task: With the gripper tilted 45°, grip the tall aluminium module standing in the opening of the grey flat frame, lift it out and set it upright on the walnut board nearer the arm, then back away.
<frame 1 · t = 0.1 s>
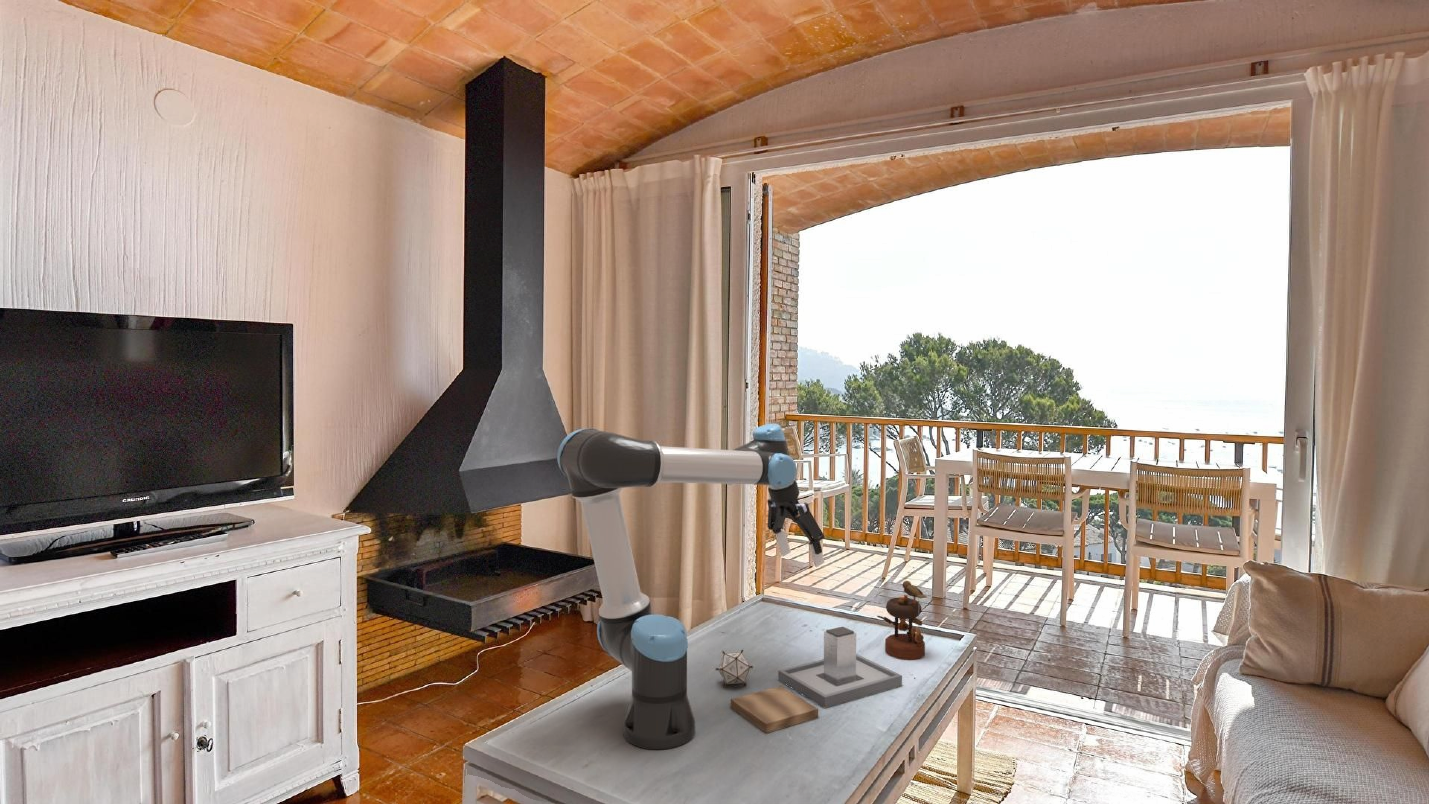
hand: (802, 559, 195), 28 cm above the table, tool tilted 20°, fingers open, 13 cm apart
game die: (734, 684, 184), on the table
grey flat frame: (839, 682, 185), on the table
music box: (902, 652, 206), on the table
board: (773, 712, 169), on the table
module: (839, 683, 185), resting in grey flat frame
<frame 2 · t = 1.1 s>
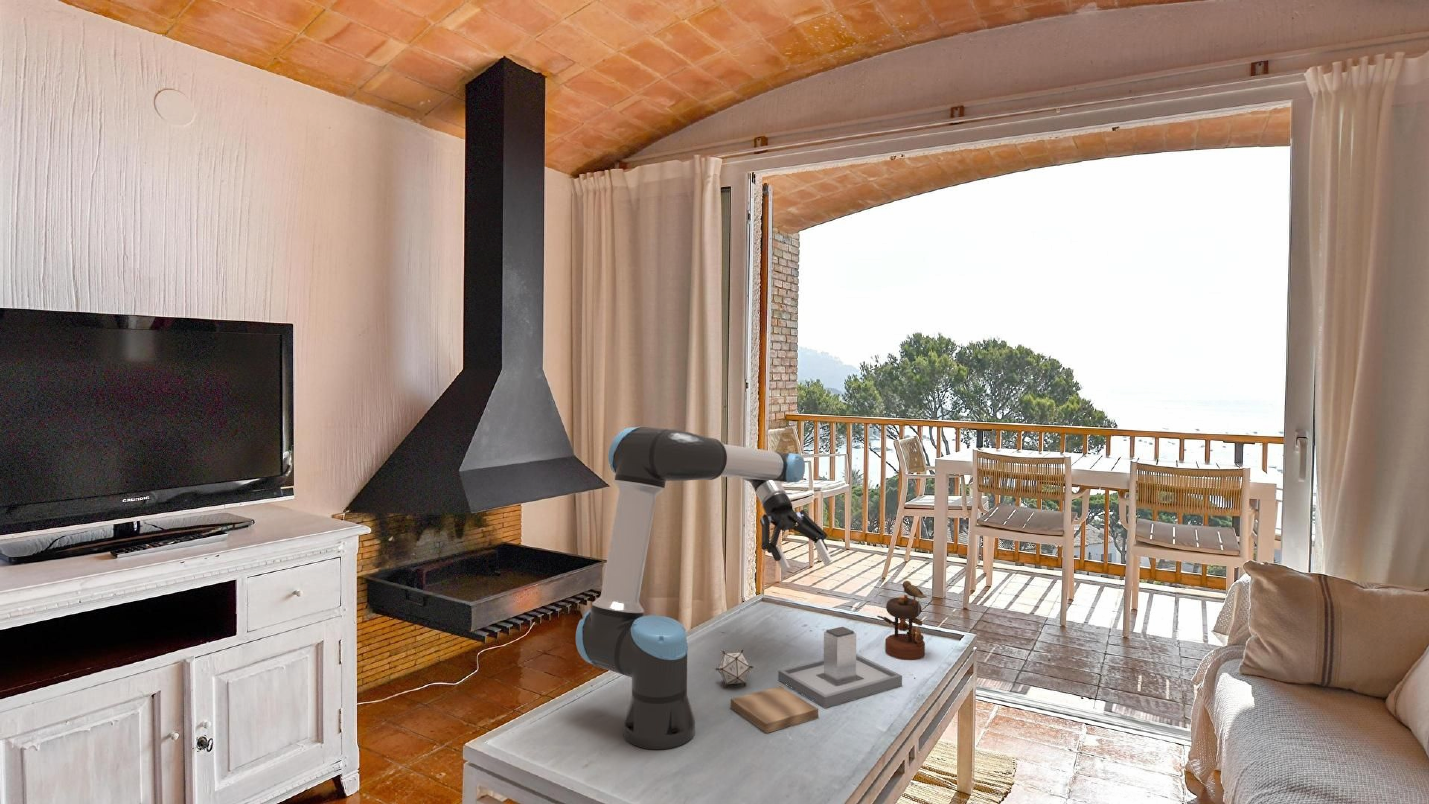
hand: (808, 566, 195), 26 cm above the table, tool tilted 45°, fingers open, 13 cm apart
nothing on the table moved.
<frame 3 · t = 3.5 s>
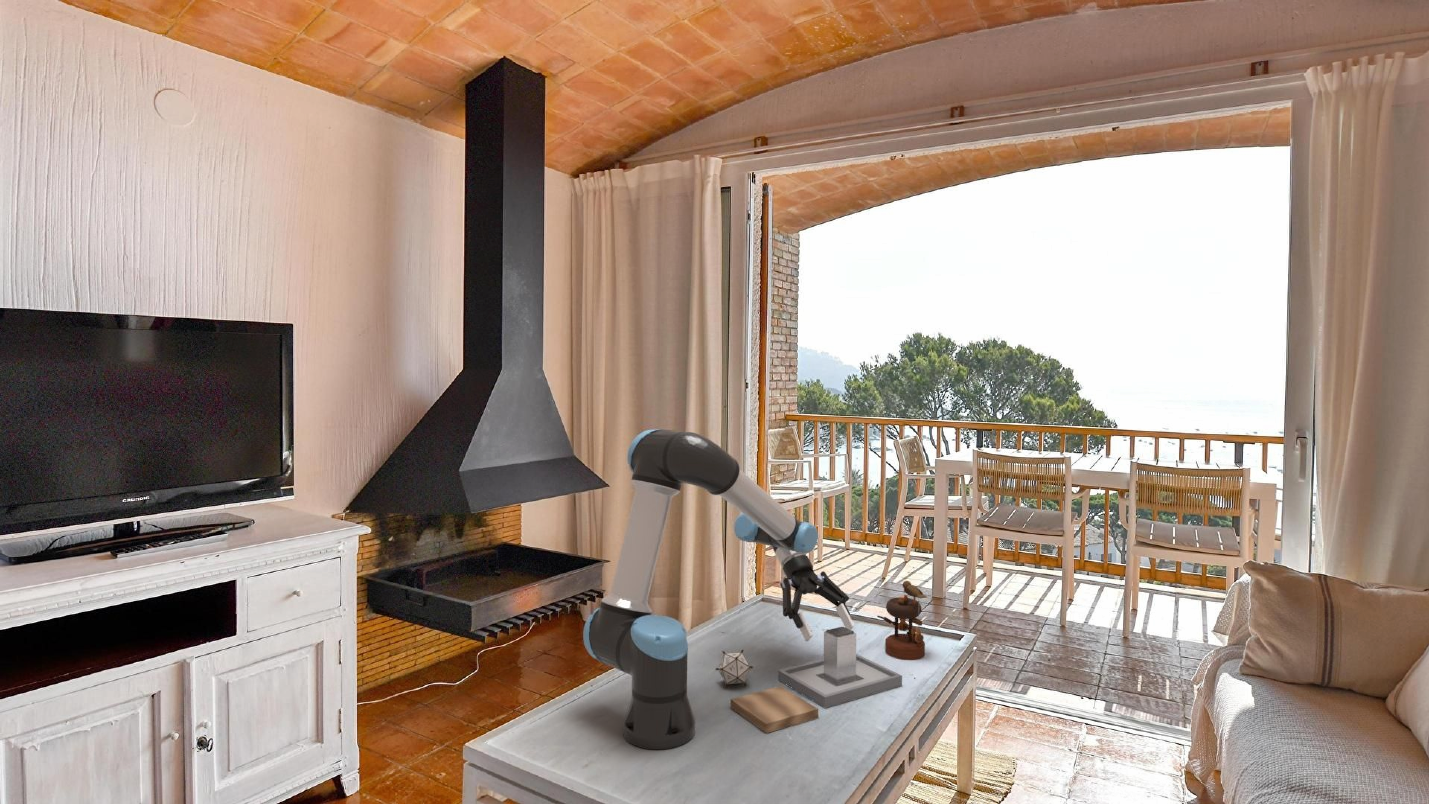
hand: (830, 633, 189), 11 cm above the table, tool tilted 45°, fingers open, 13 cm apart
nothing on the table moved.
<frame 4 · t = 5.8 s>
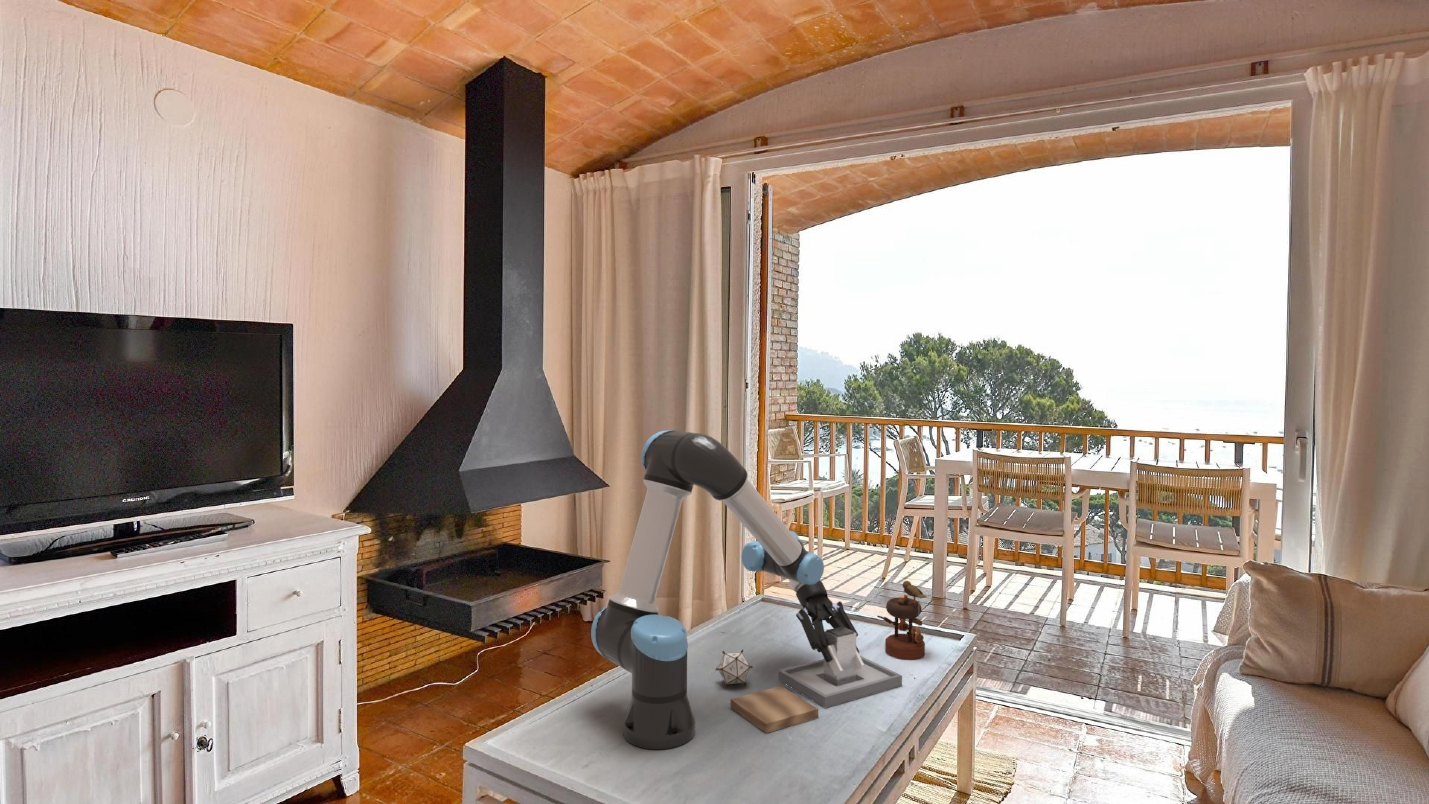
hand: (849, 670, 182), 4 cm above the table, tool tilted 45°, fingers closed on module, 6 cm apart
module: (839, 683, 185), resting in grey flat frame, touching gripper
everything else where it was.
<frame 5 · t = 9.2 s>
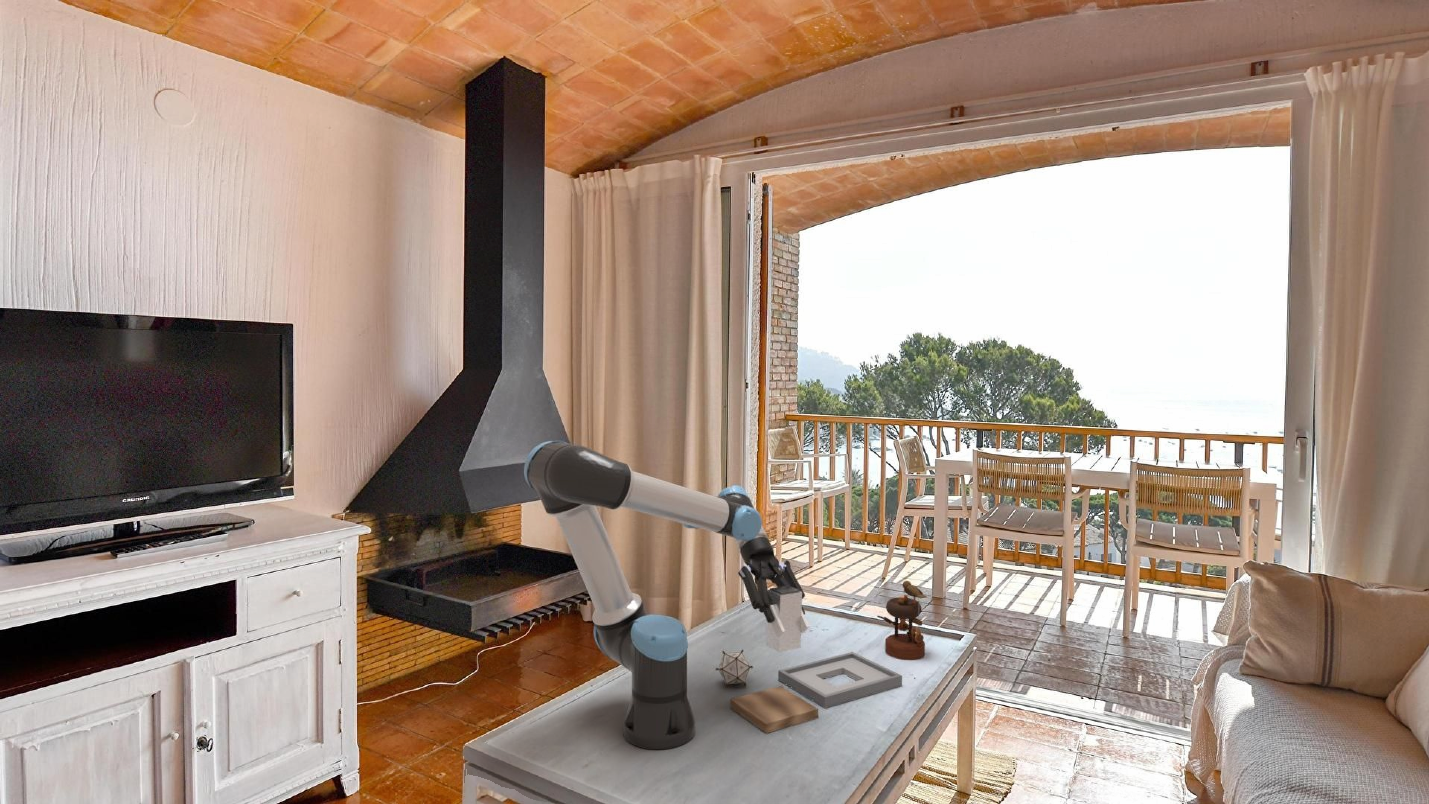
hand: (793, 631, 167), 19 cm above the table, tool tilted 45°, fingers closed on module, 6 cm apart
module: (783, 646, 170), point 14 cm above the table, touching gripper
everything else where it was.
when the fingers open (7 cm above the table, at t = 12.5 s): module stays where it is, resting on board.
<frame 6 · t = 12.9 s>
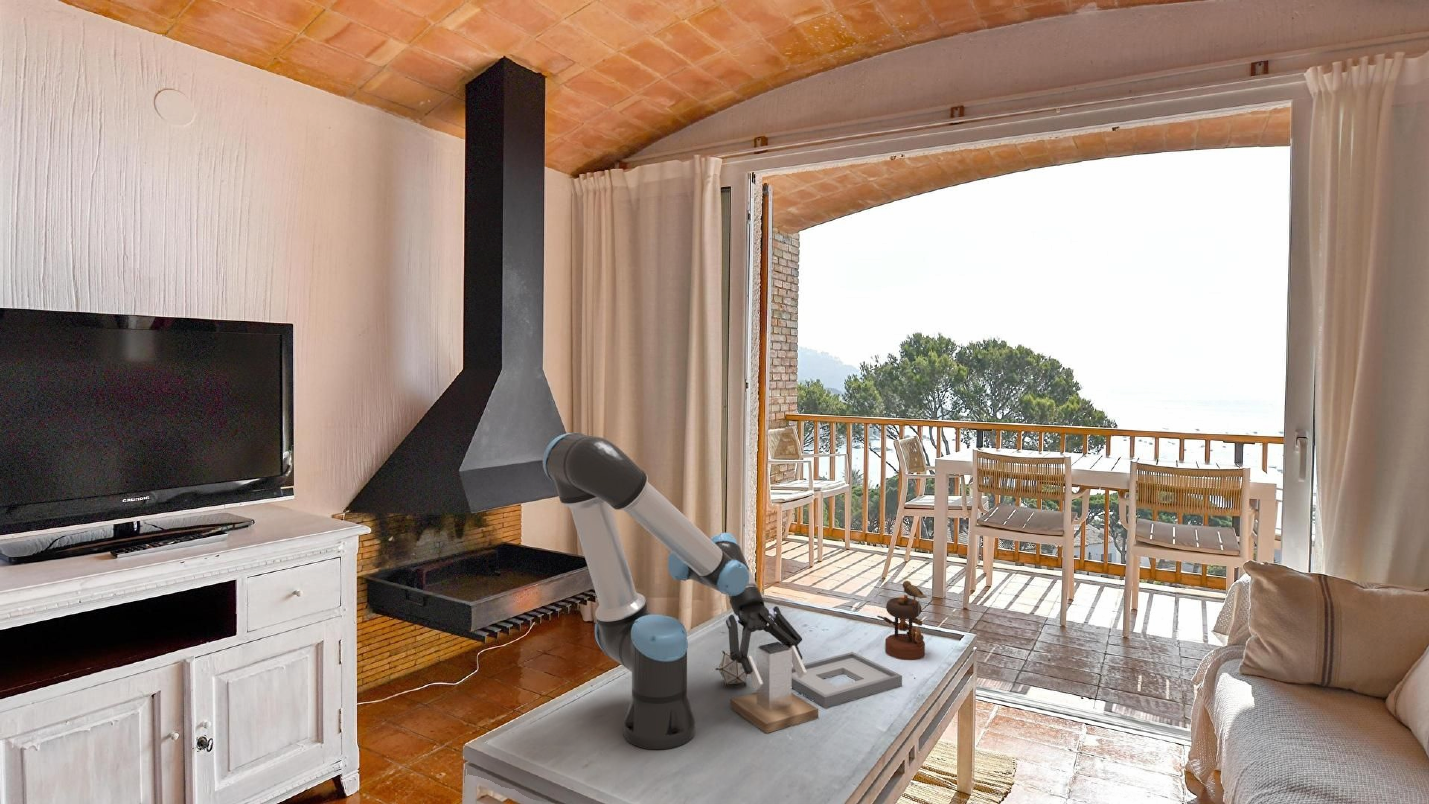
hand: (781, 680, 166), 8 cm above the table, tool tilted 45°, fingers open, 11 cm apart
module: (773, 703, 169), point 2 cm above the table, touching board
everything else where it was.
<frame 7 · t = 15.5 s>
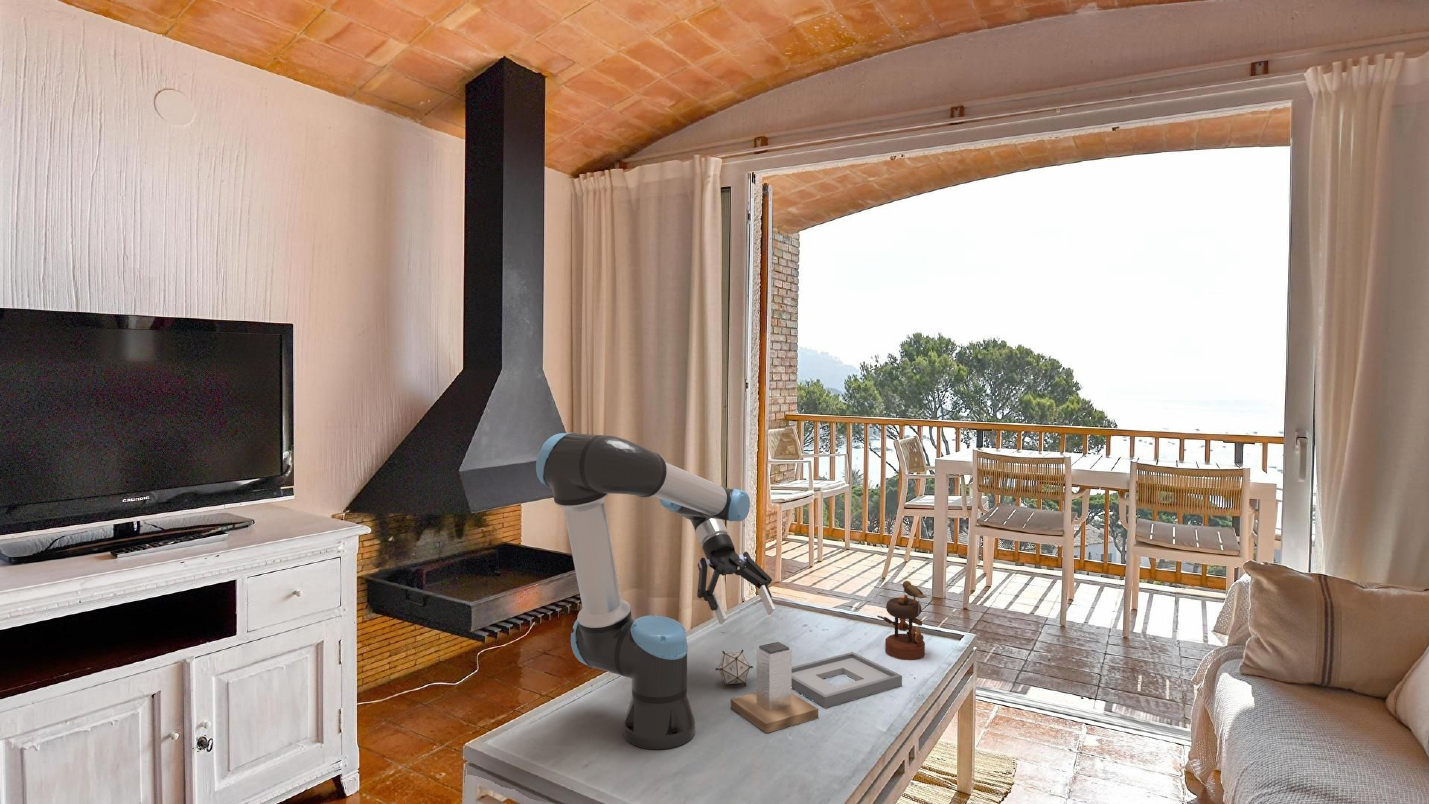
hand: (748, 616, 177), 19 cm above the table, tool tilted 45°, fingers open, 13 cm apart
nothing on the table moved.
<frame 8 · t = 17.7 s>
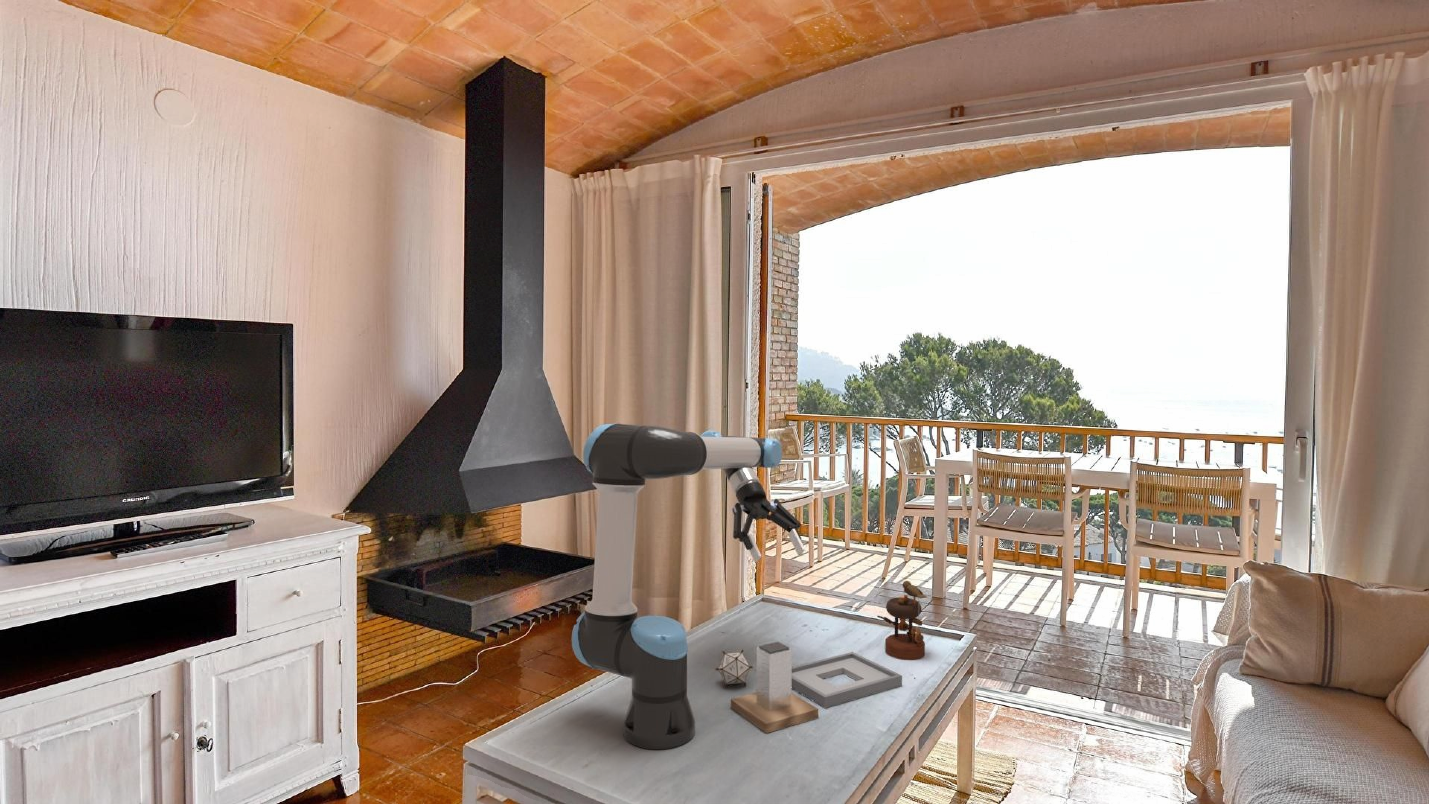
hand: (780, 556, 191), 30 cm above the table, tool tilted 45°, fingers open, 13 cm apart
nothing on the table moved.
at the end: module inside the target area on the board (0.0 cm from its centre), point 2.0 cm above the board's base; module tilted 0°; the gripper is holding nothing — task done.
